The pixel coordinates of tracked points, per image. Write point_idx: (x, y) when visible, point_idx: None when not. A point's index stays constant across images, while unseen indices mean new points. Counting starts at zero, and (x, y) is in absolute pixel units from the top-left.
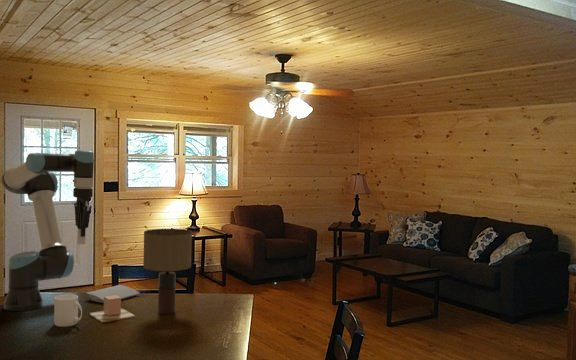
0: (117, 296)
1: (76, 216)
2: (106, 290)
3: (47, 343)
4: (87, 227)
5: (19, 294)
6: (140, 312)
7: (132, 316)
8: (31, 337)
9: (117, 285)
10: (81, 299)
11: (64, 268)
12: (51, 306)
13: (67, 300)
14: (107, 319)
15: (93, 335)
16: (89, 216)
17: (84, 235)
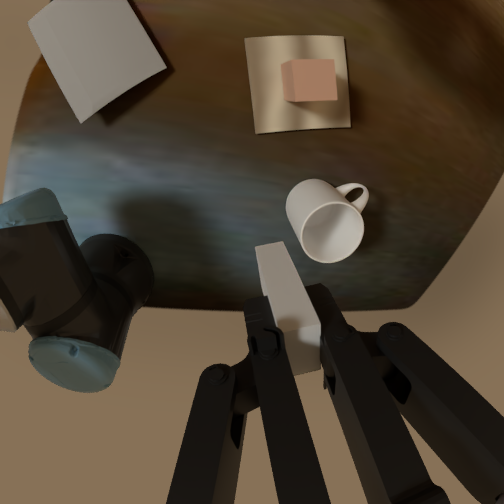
0: (313, 62)
1: (234, 490)
2: (73, 59)
3: (406, 254)
4: (397, 327)
5: (136, 307)
6: (303, 7)
7: (343, 44)
8: (360, 275)
9: (31, 28)
10: (78, 131)
11: (62, 224)
12: (127, 214)
13: (362, 235)
14: (342, 109)
15: (418, 173)
16: (492, 408)
17: (327, 292)
